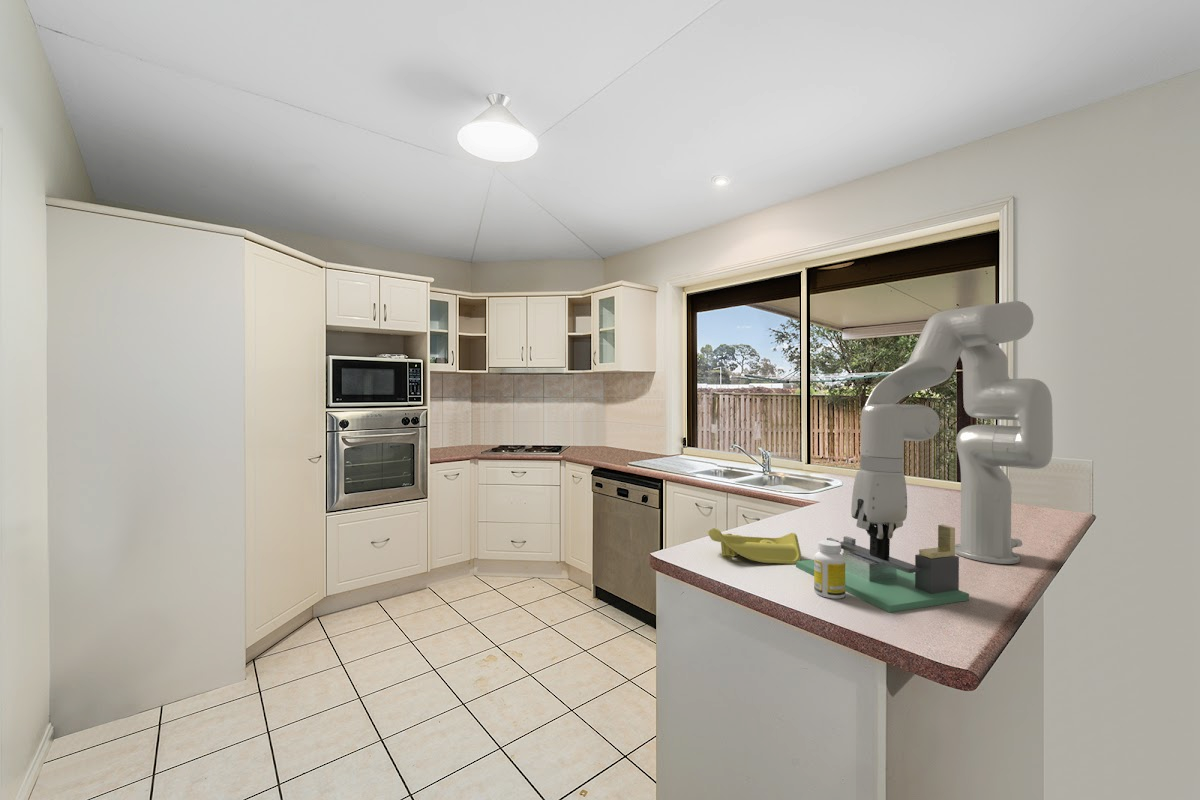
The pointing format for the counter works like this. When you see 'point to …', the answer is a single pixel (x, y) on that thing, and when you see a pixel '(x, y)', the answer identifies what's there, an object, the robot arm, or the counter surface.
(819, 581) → the supplement bottle
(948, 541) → the bracket
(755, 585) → the counter surface
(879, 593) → the board
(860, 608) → the counter surface
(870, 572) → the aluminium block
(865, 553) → the dark grey flat bar
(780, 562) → the plastic component
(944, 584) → the block
